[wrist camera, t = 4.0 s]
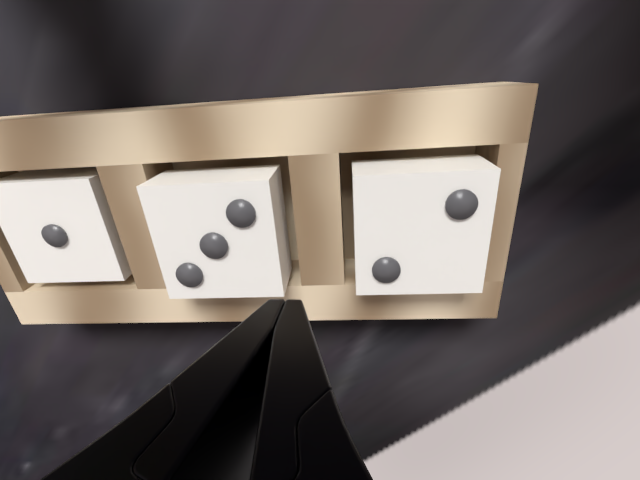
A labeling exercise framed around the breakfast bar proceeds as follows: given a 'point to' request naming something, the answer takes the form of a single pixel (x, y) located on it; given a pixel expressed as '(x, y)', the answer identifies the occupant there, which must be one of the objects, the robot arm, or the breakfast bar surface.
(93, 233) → the key one dot
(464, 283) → the key two dots
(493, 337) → the breakfast bar surface
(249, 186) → the key three dots
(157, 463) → the robot arm
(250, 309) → the beige wooden frame
